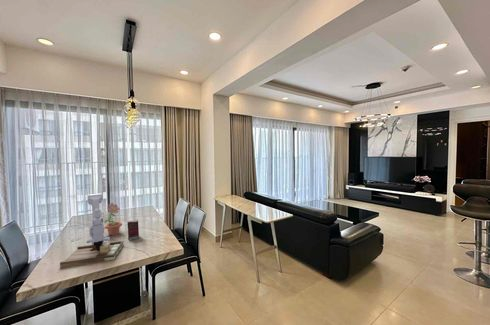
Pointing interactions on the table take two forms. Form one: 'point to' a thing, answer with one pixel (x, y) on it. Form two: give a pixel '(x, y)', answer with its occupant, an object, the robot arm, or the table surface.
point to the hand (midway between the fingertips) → (99, 250)
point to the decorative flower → (114, 226)
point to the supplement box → (133, 229)
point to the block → (104, 248)
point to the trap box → (92, 254)
